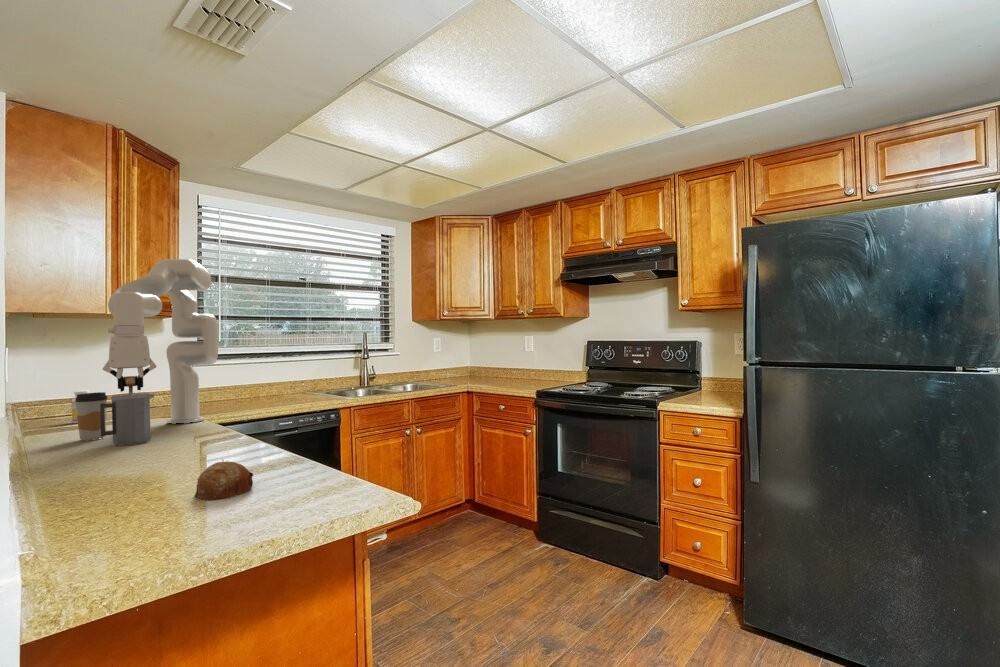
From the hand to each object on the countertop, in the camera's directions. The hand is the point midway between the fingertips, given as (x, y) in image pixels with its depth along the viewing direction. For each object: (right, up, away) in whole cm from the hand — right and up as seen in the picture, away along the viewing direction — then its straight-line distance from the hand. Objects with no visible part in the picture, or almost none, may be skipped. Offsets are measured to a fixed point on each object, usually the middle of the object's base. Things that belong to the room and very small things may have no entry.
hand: (130, 390), depth 158 cm
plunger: (+1, -15, 0) cm, 15 cm away
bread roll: (+60, -14, -57) cm, 84 cm away
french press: (+1, -16, 0) cm, 16 cm away
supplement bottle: (-56, -19, +50) cm, 77 cm away
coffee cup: (-19, -17, +9) cm, 27 cm away
